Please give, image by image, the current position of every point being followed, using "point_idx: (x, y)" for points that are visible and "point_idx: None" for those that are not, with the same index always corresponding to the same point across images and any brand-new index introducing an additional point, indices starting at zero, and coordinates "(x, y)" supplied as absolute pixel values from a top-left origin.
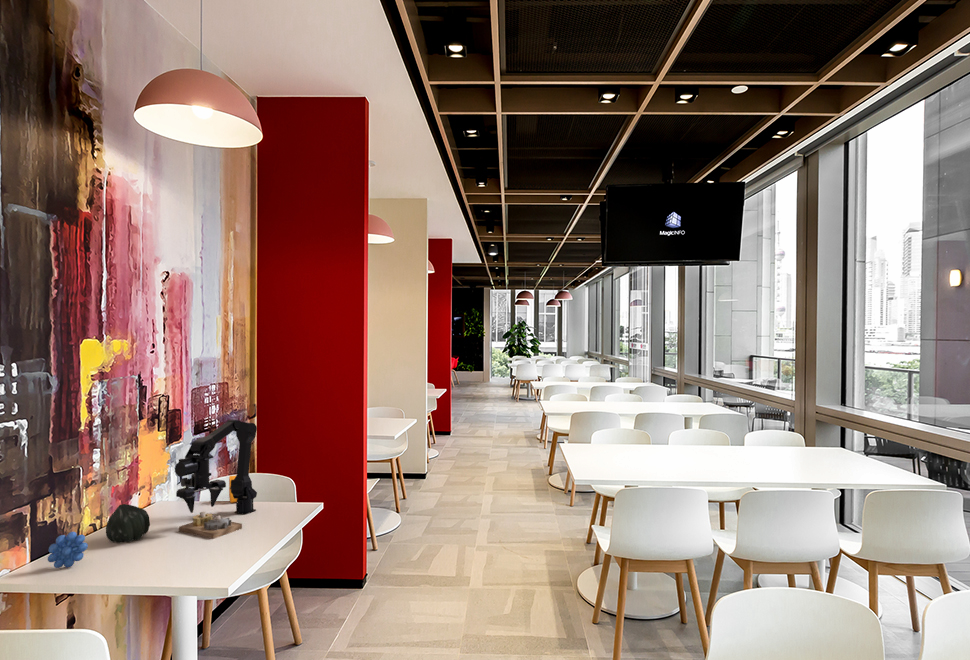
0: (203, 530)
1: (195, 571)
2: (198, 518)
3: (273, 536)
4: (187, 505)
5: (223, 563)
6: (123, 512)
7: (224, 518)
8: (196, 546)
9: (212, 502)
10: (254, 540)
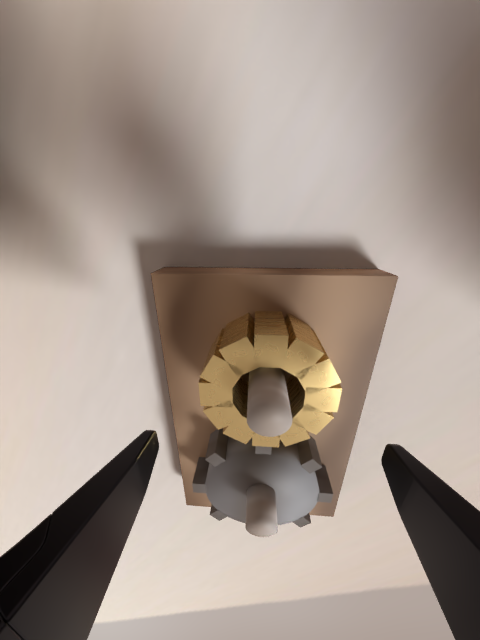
0: (189, 451)
1: None
2: (213, 415)
3: (293, 585)
4: (60, 506)
5: None
6: None
7: (317, 488)
8: None
9: (410, 512)
10: (246, 568)
